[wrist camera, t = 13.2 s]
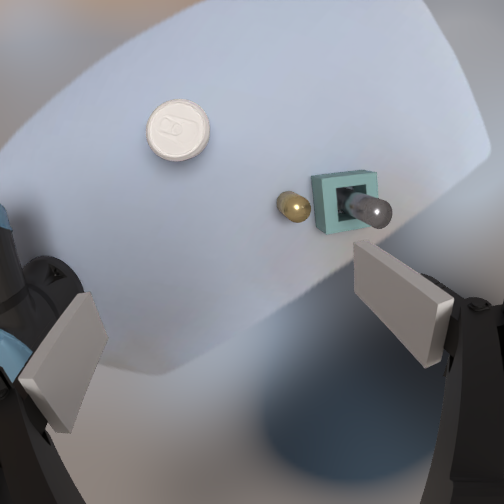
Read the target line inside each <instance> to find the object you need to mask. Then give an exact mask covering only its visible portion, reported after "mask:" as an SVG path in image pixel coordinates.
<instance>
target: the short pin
mask: <svg viewBox="0 0 504 504" xmlns="http://www.w3.org/2000/svg"><path fill="white" fill-rule="evenodd" d="M277 208H278V209H279V211H280V212H281V213H282V214H284V215H285V216H286V217H287V218H288V219H289V220H291V221H292V222H296V223H300V222H303V221H305V220H306V219H307V218H308V217H309V215H310V212H311V206H310V203H309V201H308V200H307V199H305V198H304V197H302V196H300V195H298V194H296V193H294V192H292V191H286V192H283V193H282V194H280V195H279V197H278V199H277Z"/></svg>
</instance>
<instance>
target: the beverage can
mask: <svg viewBox="0 0 504 504" xmlns="http://www.w3.org/2000/svg"><path fill="white" fill-rule="evenodd" d="M209 136H210V125H209V120H208V117H207V115H206V113H205V112H204V110H203V109H202V108H201V107H200V106H199V105H197V104H196V103H194V102H192V101H189V100H185V99H174V100H170V101H167V102H165V103H163V104H161V105H160V106H158V107H157V108H156V109H155V110H154V111H153V113H152V114H151V116H150V117H149V120H148V122H147V126H146V138H147V141H148V144H149V146H150V148H151V149H152V150H153V152H154V153H155V154H157V155H158V156H159V157H161V158H163V159H165V160H169V161H184V160H187V159H190V158H193V157H195V156H197V155H198V154H200V153H201V152H202V151H203V150H204V148H205V147H206V145H207V143H208V141H209Z"/></svg>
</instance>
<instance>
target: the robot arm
mask: <svg viewBox="0 0 504 504" xmlns="http://www.w3.org/2000/svg"><path fill="white" fill-rule="evenodd" d="M12 232H13V230H12V228H11V227H10V224H9V220H8V217H7V213H6V210H5V208H4V207H3V206H2V205H1V204H0V504H86V503H85V501H84V500H83V498H82V496H81V494H80V493H79V491H78V489H77V488H76V486H75V484H74V483H73V481H72V479H71V477H70V475H69V473H68V472H67V470H66V468H65V466H64V464H63V462H62V460H61V458H60V456H59V454H58V452H57V450H56V448H55V446H54V443H53V441H52V439H51V437H50V435H49V434H48V432H47V431H46V430H45V427H46V425H47V423H49V424H50V426H51V427H52V428H53V429H54V431H55V432H57V433H71V432H72V429H73V426H74V423H75V420H76V418H77V415H78V412H79V409H80V407H81V404H82V401H83V399H84V396H85V393H86V391H87V388H88V386H89V383H90V380H91V378H92V375H93V373H94V371H95V369H96V366H97V364H98V361H99V359H100V357H101V354H102V352H103V350H104V347H105V345H106V343H107V341H108V335H107V333H106V331H105V328H104V326H103V323H102V321H101V318H100V316H99V313H98V311H97V308H96V306H95V303H94V300H93V298H92V295H91V292H85V293H84V291H83V287H82V285H81V283H80V281H79V279H78V277H77V276H76V274H75V273H74V272H73V270H72V269H71V268H70V267H69V266H68V265H66V264H65V263H64V262H62V261H61V260H59V259H56V258H54V257H50V256H40V257H37V258H35V259H33V260H32V261H30V262H29V263H28V264H26V265H25V266H24V268H23V269H22V267H21V264H20V261H19V258H18V254H17V251H16V247H15V243H14V240H13V236H12ZM353 245H354V292H355V293H356V294H357V295H358V296H359V297H360V298H361V299H362V301H363V302H364V303H365V304H366V305H367V306H368V307H369V308H370V309H371V310H372V311H373V312H374V313H375V314H376V315H377V316H378V317H379V319H381V321H382V322H383V323H384V324H385V325H386V326H387V327H388V328H389V329H390V330H391V331H392V332H393V334H394V335H395V336H396V337H397V338H398V339H399V340H400V341H401V342H402V343H403V344H404V345H405V347H407V349H408V350H409V351H410V352H411V353H412V354H413V355H414V357H415V358H416V359H417V360H418V361H419V362H420V363H421V364H422V365H423V367H424V368H427V367H429V366H432V365H434V364H436V363H438V362H440V361H441V357H442V353H443V350H444V349H445V350H446V351H447V352H448V353H449V358H448V361H447V365H446V368H445V372H444V375H443V376H445V377H446V383H445V392H444V400H443V407H442V413H441V420H440V426H439V431H438V436H437V441H436V446H435V450H434V455H433V459H432V463H431V468H430V471H429V475H428V479H427V482H426V486H425V489H424V492H423V495H422V499H421V502H420V504H504V302H503V304H502V305H496V306H492V305H491V304H490V303H489V302H488V301H487V300H484V299H482V298H477V297H470V298H467V299H464V298H462V297H461V296H459V295H458V294H457V293H455V292H454V291H452V290H451V289H449V288H448V287H446V286H445V285H443V284H442V283H440V282H439V281H437V280H436V279H434V278H433V277H431V276H428V275H425V274H419V273H417V272H416V271H414V270H413V269H411V268H410V267H408V266H407V265H405V264H404V263H402V262H401V261H399V260H398V259H396V258H395V257H393V256H391V255H390V254H389V253H387V252H385V251H384V250H382V249H381V248H379V247H378V246H376V245H374V244H373V243H371V242H370V241H368V240H363V241H358V242H353Z"/></svg>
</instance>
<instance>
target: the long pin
mask: <svg viewBox="0 0 504 504" xmlns="http://www.w3.org/2000/svg"><path fill="white" fill-rule="evenodd" d="M336 196H337V209H339V210H341V211H343V212H345V213H347V214H349V215H351V216H352V217H354V218H356V219H358V220H360V221H362V222H364V223H366V224H368V225H370V226H372V227H374V228H376V229H382V228H384V227H386V226H387V225H388V224H389V222H390V221H391V218H392V208H391V206H390V204H389V203H388V202H386V201H384V200H381V199H378V198H376V197H373V196H370V195H367V194H364V193H360V192H357V191H354V190H351V189H348V188H345V187H341V188H336Z"/></svg>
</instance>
